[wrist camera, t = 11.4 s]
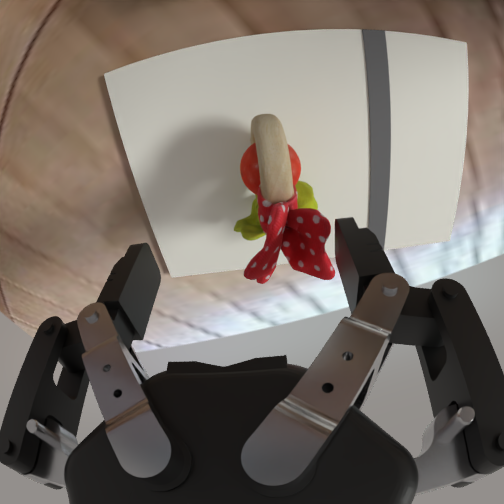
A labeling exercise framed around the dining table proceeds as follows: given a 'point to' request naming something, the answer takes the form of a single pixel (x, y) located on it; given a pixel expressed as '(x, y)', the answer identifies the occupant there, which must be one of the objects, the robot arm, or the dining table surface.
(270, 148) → the bird rattle
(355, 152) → the mat
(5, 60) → the dining table surface
